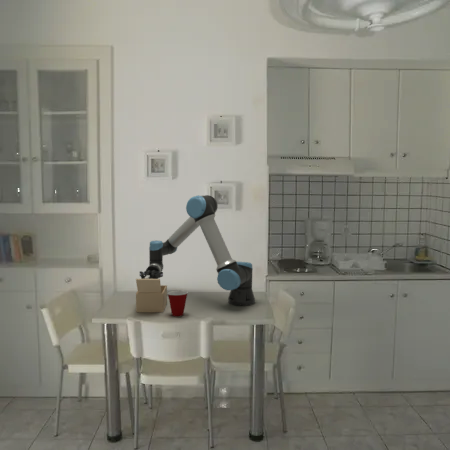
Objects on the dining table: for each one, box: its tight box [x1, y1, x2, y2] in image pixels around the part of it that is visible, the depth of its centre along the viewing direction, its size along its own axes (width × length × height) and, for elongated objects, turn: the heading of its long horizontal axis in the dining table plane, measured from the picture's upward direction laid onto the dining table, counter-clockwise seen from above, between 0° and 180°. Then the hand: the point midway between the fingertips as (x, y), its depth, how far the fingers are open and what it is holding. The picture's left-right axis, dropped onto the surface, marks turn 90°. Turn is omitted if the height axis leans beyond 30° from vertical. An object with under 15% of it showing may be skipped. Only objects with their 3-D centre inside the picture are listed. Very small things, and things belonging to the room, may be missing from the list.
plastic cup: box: [167, 290, 189, 317], centre depth 237 cm, size 11×11×12 cm
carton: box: [135, 284, 168, 313], centre depth 250 cm, size 14×18×10 cm
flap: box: [135, 278, 162, 293], centre depth 237 cm, size 12×1×10 cm
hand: (146, 280), depth 236 cm, fingers closed
